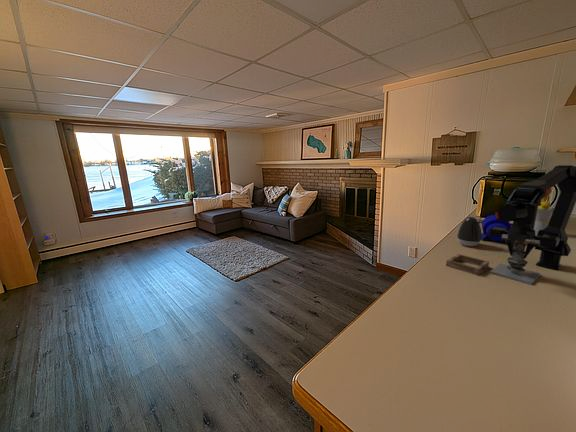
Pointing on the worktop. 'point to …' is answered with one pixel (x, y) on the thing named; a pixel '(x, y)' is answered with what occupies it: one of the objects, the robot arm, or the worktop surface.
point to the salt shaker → (517, 258)
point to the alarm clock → (491, 223)
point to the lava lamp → (543, 213)
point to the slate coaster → (515, 274)
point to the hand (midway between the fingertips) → (517, 257)
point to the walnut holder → (454, 264)
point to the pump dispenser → (470, 232)
